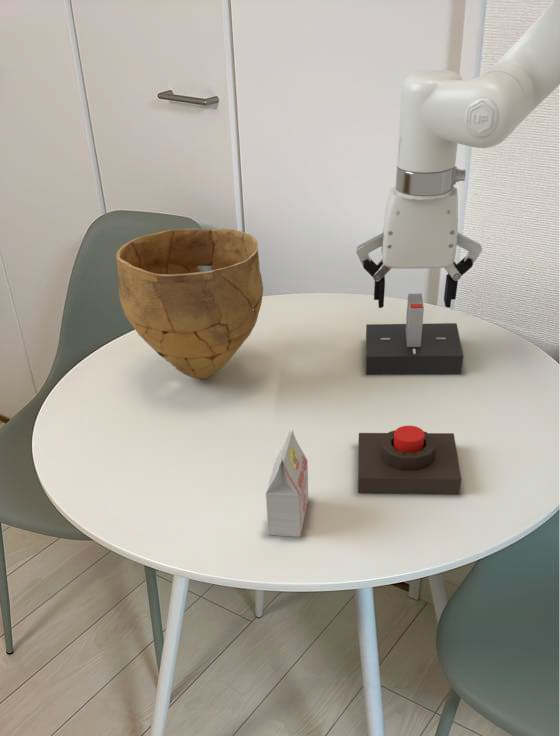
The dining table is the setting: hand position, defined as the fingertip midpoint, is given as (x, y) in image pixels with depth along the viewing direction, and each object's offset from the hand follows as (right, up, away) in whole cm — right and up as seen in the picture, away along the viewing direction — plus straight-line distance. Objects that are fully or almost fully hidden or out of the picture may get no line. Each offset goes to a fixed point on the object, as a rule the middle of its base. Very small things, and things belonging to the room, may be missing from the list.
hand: (413, 304), depth 111 cm
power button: (-5, -23, -19) cm, 31 cm away
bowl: (-32, -10, +5) cm, 33 cm away
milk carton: (-19, -32, -23) cm, 44 cm away
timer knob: (+1, -4, +3) cm, 6 cm away
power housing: (-4, -26, -17) cm, 31 cm away
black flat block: (+1, -7, +5) cm, 9 cm away
